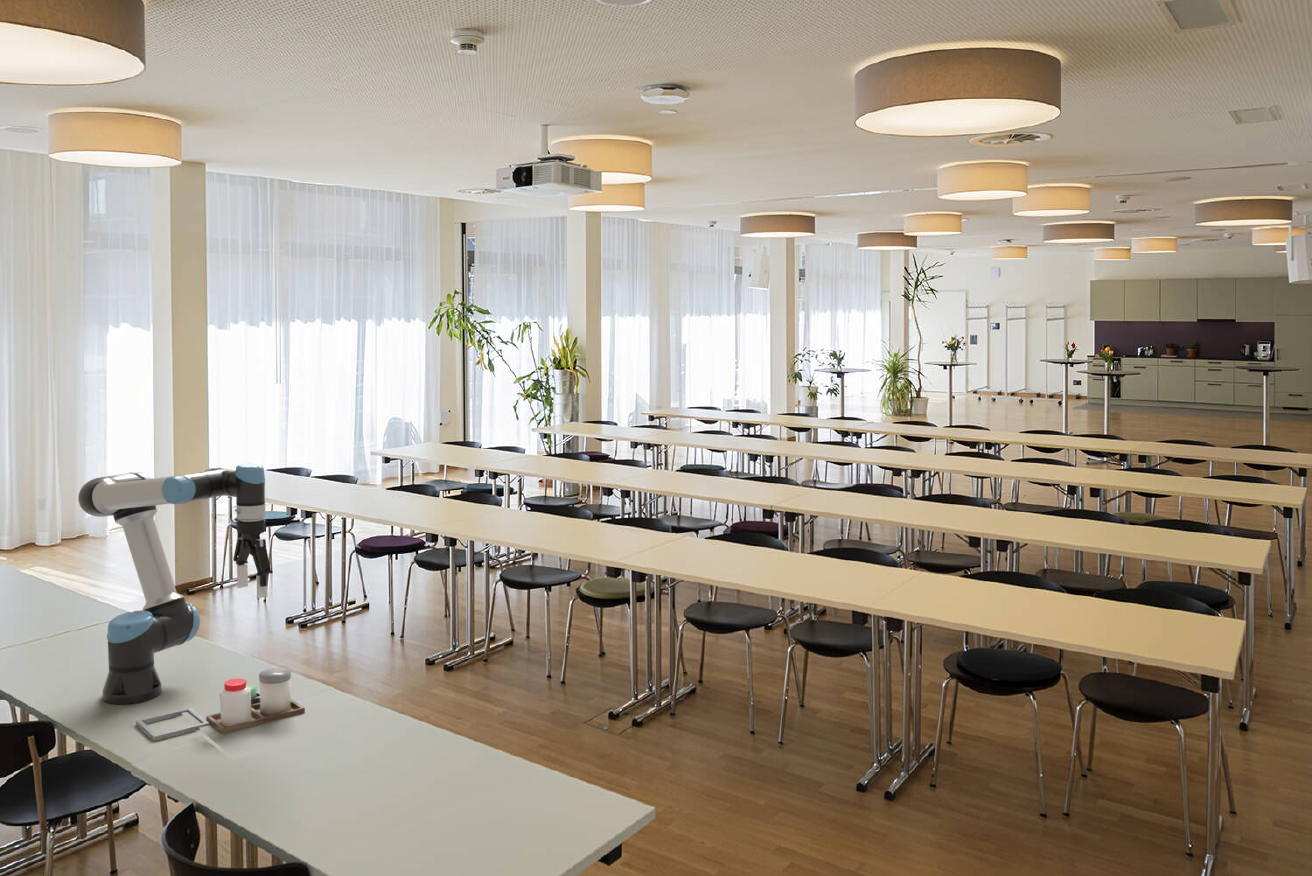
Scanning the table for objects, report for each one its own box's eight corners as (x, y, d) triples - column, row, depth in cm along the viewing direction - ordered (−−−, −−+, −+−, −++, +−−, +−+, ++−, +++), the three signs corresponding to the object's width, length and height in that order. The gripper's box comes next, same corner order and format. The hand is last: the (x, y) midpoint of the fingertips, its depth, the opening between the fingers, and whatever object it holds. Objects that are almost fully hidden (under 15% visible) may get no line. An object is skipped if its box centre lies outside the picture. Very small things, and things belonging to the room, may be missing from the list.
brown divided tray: (206, 723, 270) (206, 715, 269) (286, 702, 285) (286, 696, 285) (223, 736, 262) (222, 729, 261) (304, 714, 277) (304, 708, 277)
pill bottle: (240, 728, 265) (239, 688, 264) (214, 725, 267) (213, 685, 265) (257, 717, 273) (256, 678, 271) (232, 714, 274) (231, 675, 273)
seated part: (254, 710, 277) (254, 672, 276) (283, 703, 283) (282, 666, 282) (267, 719, 271) (266, 680, 270) (296, 711, 277) (295, 673, 276)
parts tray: (136, 724, 267) (136, 720, 267) (190, 711, 277) (190, 707, 277) (154, 741, 257) (153, 736, 257) (209, 727, 267) (209, 722, 267)
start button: (239, 701, 282) (239, 688, 282) (253, 698, 285) (253, 685, 285) (245, 705, 280) (244, 692, 279) (259, 702, 282) (259, 688, 282)
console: (232, 705, 283) (231, 694, 282) (256, 699, 287) (256, 689, 287) (242, 712, 278) (241, 702, 277) (266, 706, 282) (266, 696, 282)
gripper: (220, 513, 288) (221, 585, 290) (256, 528, 270) (257, 604, 272) (246, 510, 293) (247, 580, 295) (283, 524, 275) (284, 599, 278)
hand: (252, 592), depth 284 cm, fingers open, 13 cm apart
